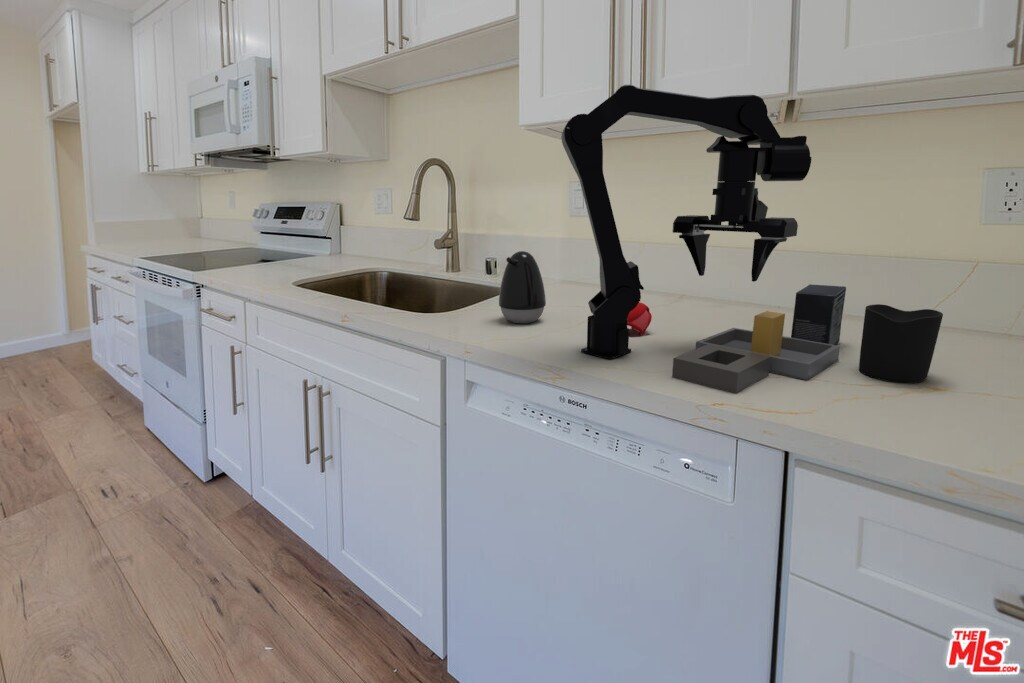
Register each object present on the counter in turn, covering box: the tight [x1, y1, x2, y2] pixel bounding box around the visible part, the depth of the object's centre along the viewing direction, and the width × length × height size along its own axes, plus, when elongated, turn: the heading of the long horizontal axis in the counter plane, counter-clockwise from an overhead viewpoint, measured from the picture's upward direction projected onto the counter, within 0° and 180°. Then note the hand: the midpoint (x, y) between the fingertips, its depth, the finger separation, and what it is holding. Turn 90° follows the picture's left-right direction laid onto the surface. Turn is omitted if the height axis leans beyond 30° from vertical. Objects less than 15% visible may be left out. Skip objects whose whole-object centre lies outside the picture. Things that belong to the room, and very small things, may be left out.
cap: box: [627, 301, 653, 336], centre depth 109 cm, size 8×6×6 cm
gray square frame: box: [671, 344, 771, 394], centre depth 84 cm, size 10×11×3 cm
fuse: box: [751, 310, 786, 356], centre depth 91 cm, size 3×5×7 cm, turn 135°
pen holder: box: [858, 303, 944, 384], centre depth 83 cm, size 9×9×10 cm
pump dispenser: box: [498, 250, 547, 324], centre depth 119 cm, size 10×10×15 cm
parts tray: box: [695, 327, 841, 381], centre depth 92 cm, size 18×14×2 cm
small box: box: [790, 284, 847, 345], centre depth 98 cm, size 11×6×10 cm, turn 141°
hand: (727, 278), depth 93 cm, fingers open, 9 cm apart
